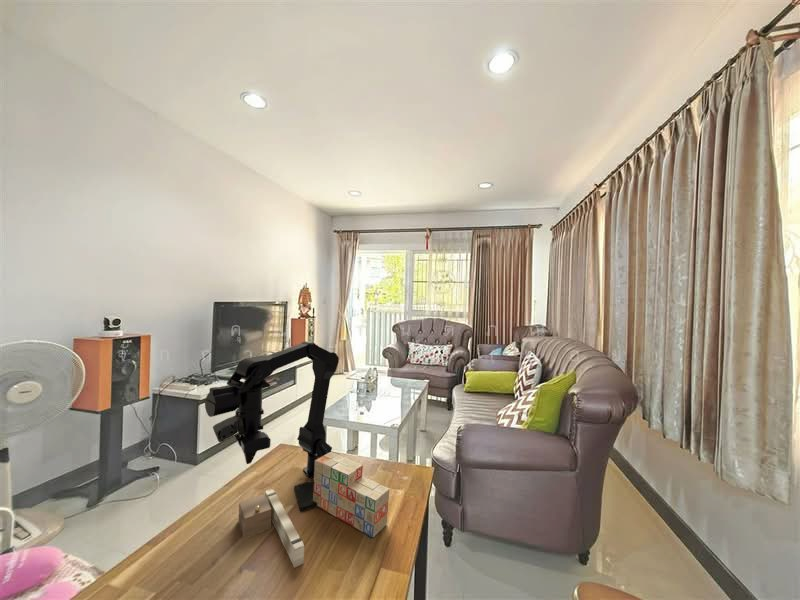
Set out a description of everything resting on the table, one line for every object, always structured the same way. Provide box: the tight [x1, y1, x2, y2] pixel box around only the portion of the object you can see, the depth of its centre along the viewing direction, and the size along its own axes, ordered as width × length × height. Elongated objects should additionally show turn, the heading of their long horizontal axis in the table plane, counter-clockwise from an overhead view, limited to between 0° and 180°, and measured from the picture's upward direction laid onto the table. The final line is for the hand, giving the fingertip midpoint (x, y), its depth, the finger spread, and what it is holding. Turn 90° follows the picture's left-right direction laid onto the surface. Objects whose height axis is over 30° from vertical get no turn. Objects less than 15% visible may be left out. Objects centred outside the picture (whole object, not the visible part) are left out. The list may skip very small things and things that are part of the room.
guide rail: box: [264, 488, 305, 568], centre depth 77 cm, size 24×2×4 cm, turn 37°
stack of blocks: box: [313, 451, 390, 538], centre depth 84 cm, size 21×6×12 cm, turn 57°
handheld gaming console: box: [293, 479, 318, 512], centre depth 91 cm, size 12×7×10 cm
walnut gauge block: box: [238, 493, 272, 539], centre depth 79 cm, size 7×6×6 cm
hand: (248, 463), depth 85 cm, fingers closed
